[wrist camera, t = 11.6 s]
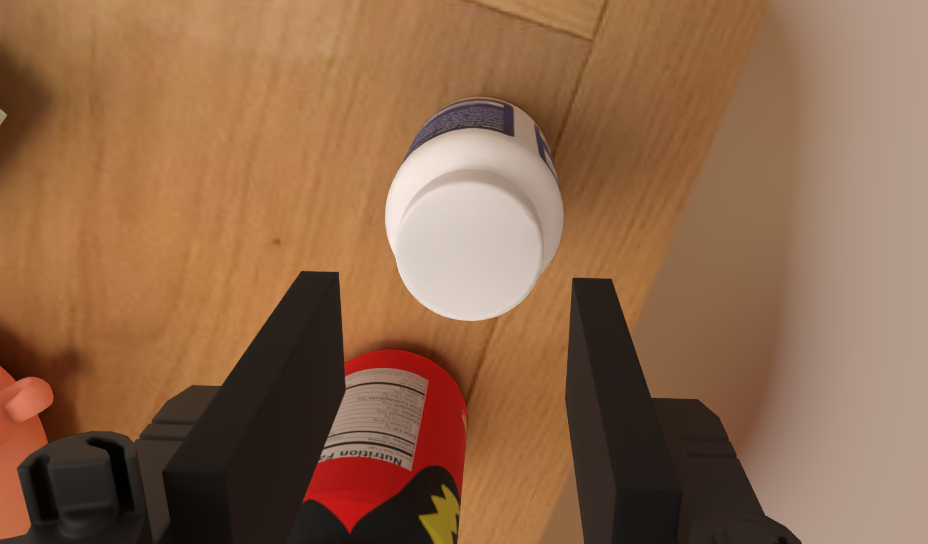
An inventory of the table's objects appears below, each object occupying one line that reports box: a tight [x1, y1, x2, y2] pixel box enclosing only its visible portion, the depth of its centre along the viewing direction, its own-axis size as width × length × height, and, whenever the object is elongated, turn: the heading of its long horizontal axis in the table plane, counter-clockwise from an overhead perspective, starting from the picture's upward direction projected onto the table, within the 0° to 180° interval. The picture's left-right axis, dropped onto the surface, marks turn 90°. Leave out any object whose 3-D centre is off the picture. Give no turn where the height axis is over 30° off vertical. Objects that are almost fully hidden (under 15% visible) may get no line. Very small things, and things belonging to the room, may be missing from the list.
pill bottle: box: [385, 97, 564, 321], centre depth 24 cm, size 5×5×10 cm
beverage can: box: [287, 350, 468, 544], centre depth 27 cm, size 6×6×12 cm
